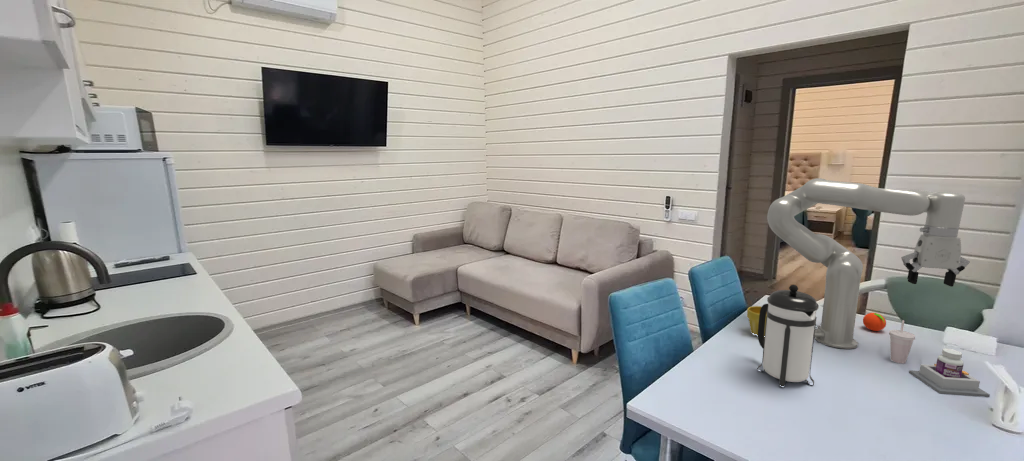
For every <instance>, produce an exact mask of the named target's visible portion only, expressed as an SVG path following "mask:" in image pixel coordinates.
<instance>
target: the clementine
mask: <svg viewBox="0 0 1024 461" xmlns="http://www.w3.org/2000/svg"><path fill="white" fill-rule="evenodd" d="M862 324H863V325H864V327H865V328H867V329H868V330H870V331H873V332H879V331H883V330H884V329H885V327H886V326H887V321H886V318H885V317H884V316H883V315H882V314H880V313H878V312H869V313H867V314H865V315H864V316H863V318H862Z"/></svg>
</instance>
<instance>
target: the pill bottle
mask: <svg viewBox="0 0 1024 461" xmlns="http://www.w3.org/2000/svg"><path fill="white" fill-rule="evenodd" d="M962 355H963V353H962V352H961V351H958V350H956V349H952V348H942V351H941V354H940V355H938V357H937V360H936V363H935V364H936V369H935V371H936V372H938V373H939V374H941V375H943V376H944V377H951V378H961V375H962V371H964V370H963V369H964V361H963V360H962Z"/></svg>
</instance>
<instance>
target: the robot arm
mask: <svg viewBox="0 0 1024 461" xmlns="http://www.w3.org/2000/svg"><path fill="white" fill-rule="evenodd" d="M965 200H966V196H965V195H964V194H962V193H959V192H951V191H949V192H948V191H947V192H945V191H939V192H938V191H937V192H935V191H934V192H933V191H925V190H919V189H910V190H909V189H908V190H897V189H896V190H895V189H889V188H880V187H875V186H871V185H869V184H865V183H859V182H847V181H839V180H830V179H829V180H827V179H824V178H822V177H821V178H820V177H819V178H818V177H817V178H812V179H811V180H810V179H809V180H808V181H806V182H805V184H803V185H802V186H800V187H799V188H798V187H797V189H795V190H793V191H791V192H789V193H787V194H786V195H784V196H781V197H779V198H776V199H775V200H774V201H772V203H771V204H770V206H769V208H768V210H767V215H766V217H767V220H766V221H767V224H768V226H769V228H770V230H771V231H772V232H773V233H774V235H776V236H777V237H778V238H780V239H781V240H782V241H784V243H786V244H787V245H789V246H790V247H791V248H792V249H793V250H795V251H796V252H798V254H800V255H801V256H802V257H804V258H805V259H806V260H807V261H809V262H812V263H816V264H818V263H819V264H822V266H825V267H826V272H825V284H824V286H825V287H824V297H823V306H822V313H821V323H820V325H819V326H817V328H814V330H815V335H814V336H813V337H814V340H816V341H817V342H819V343H820V344H822V345H825V346H828V347H832V348H835V349H836V348H837V349H844V350H852V349H856V348H857V347H858V345H859V343H858V341H857V340H856V339H855V338H854V332H855V326H856V325H855V324H856V319H857V318H856V317H857V308H858V301H859V293H860V285H861V280H862V274H863V270H864V265H863V261H862V260H861V259H860V258H859V257H858V256H857V255H856V254H855V253H853V251H851V250H850V249H848V248H847V247H845V246H844V245H842V244H840V243H839V242H838V241H836V240H835V239H834V238H832V237H830V236H828V235H826V234H821V233H817V234H816V233H814V232H813V231H812V230H810V229H809V228H807V226H805V225H803V224H802V223H800V222H799V221H797V220H796V218H795V216H797V215H799V214H800V213H802V212H804V211H806V210H808V209H810V208H812V207H814V206H815V205H817V204H822V205H830V206H836V207H845V208H853V209H859V210H864V211H874V212H880V213H885V214H893V215H900V216H902V215H903V216H910V217H912V216H919V215H921V214H924V213H926V214H927V215H926V218H925V223H924V224H925V225H924V226H923V227H919V232H921V233H923V234H920V236H919V237H918V240H917V242H916V244H915V247H914V250H913V252H912V253H909V254H905V255H903V256H901V258H900V259H901V261H902V263H903V265H904V266H905V268H906V269H907V270H908V272H907V282H908V283H910V284H912V285H917V283H918V278H919V275H920V274H919V272H918V271H920V270H921V269H922V268H927V269H939V270H940V269H941V270H947V271H945V274H944V279H943V284H944V285H945V286H948V287H952V288H953V287H954V284H955V283H956V278H957V275H960V273H961V272H962V271H964V270H965V269H966V267H967V266H968V265H969V264H970V260H968V259H966V258H965V257H963V256H961V254H962V244H961V243H962V242H961V241H962V240H961V237H958V235H959V229H960V224H961V221H962V215H963V211H964V206H965V203H966V202H965ZM910 260H912V263H911V262H910Z"/></svg>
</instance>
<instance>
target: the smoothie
mask: <svg viewBox="0 0 1024 461" xmlns="http://www.w3.org/2000/svg"><path fill="white" fill-rule="evenodd" d="M904 325H905V320H904V319H902V320H901V325H900V329H891V330H889V333H888V335H889V336H890V337H889V339H890V340H889V342H890V343H889V346H890V351H889V352H890V361H892V362H894V363H897V364H902V365H903V364H907V360H908V357H909V354H910V351H911V349H912V345H913V343H914V341H915V340H916V335H915V334H913V333H911V332H910V331H909V332H908V331H905V330H904V328H905V327H904Z"/></svg>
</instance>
